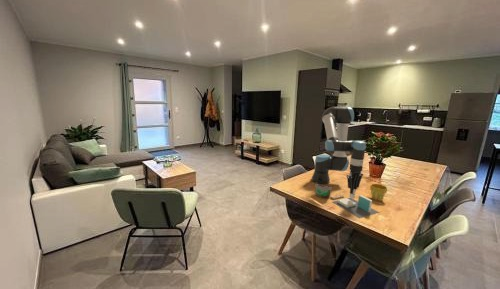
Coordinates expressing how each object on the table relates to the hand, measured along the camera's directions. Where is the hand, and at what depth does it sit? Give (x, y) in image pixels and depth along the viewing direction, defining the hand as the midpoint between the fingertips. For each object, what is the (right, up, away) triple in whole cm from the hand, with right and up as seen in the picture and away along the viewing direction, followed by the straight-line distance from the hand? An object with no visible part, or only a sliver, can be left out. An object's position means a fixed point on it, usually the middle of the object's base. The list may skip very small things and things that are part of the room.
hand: (351, 197), depth 141 cm
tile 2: (+4, -6, -7) cm, 10 cm away
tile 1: (-1, -3, 0) cm, 3 cm away
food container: (-18, -3, +10) cm, 21 cm away
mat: (-1, -6, -4) cm, 8 cm away
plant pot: (+23, -4, +10) cm, 26 cm away
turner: (-3, -3, +10) cm, 11 cm away
